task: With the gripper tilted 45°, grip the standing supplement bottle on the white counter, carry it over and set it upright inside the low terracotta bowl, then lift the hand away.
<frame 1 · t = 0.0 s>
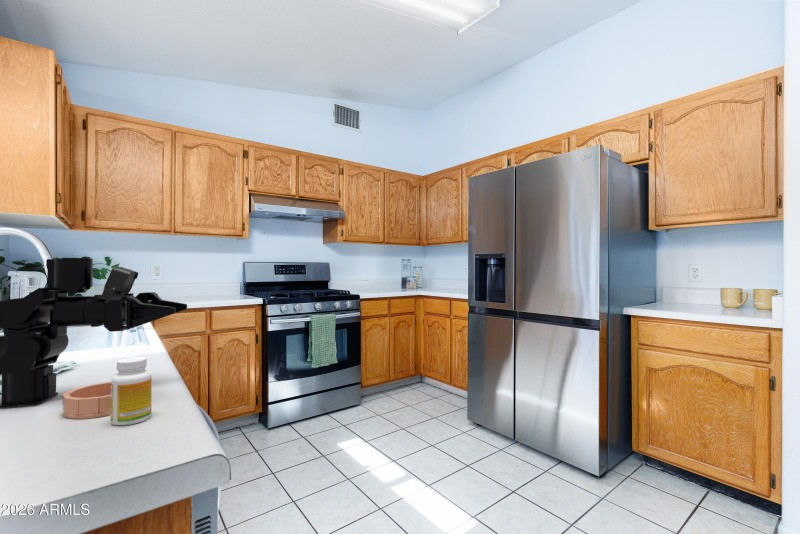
hand: (181, 308, 79), 17 cm above the table, tool horizontal, fingers open, 9 cm apart
supplement bottle: (131, 421, 62), on the table
terracotta bowl: (103, 407, 68), on the table
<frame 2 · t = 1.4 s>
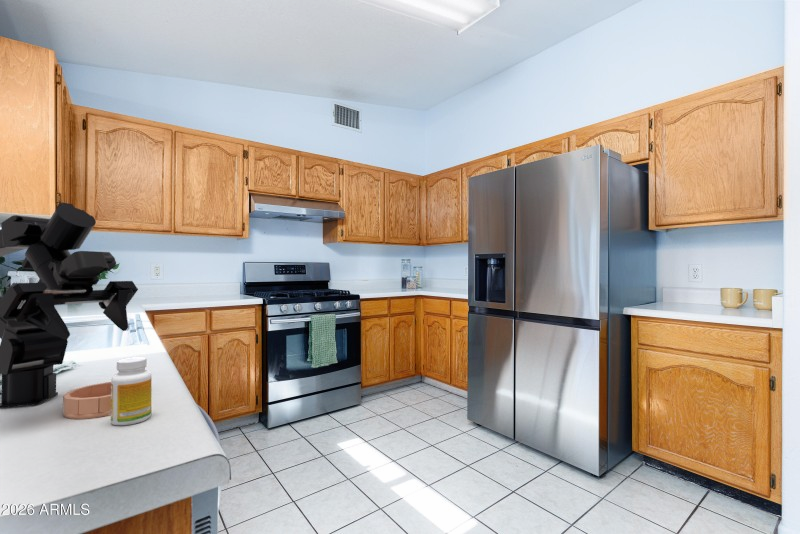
hand: (98, 332, 65), 14 cm above the table, tool tilted 45°, fingers open, 9 cm apart
nothing on the table moved.
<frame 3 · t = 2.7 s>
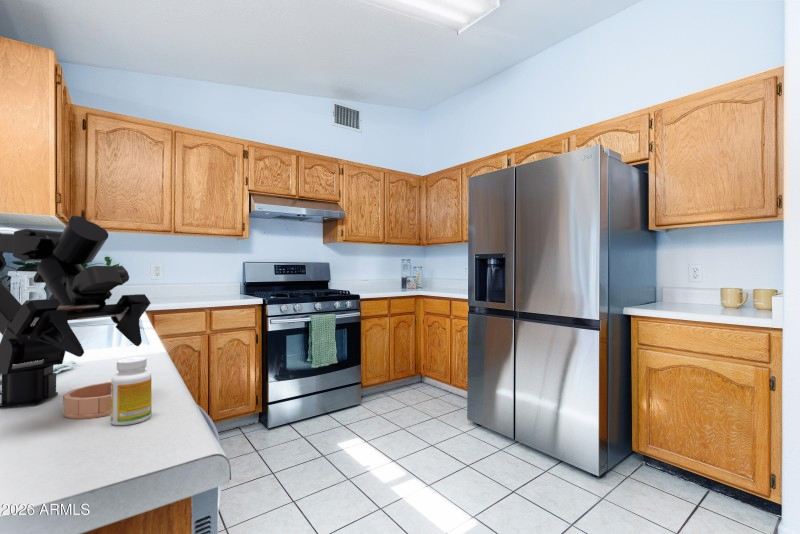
hand: (112, 349, 64), 11 cm above the table, tool tilted 45°, fingers open, 9 cm apart
nothing on the table moved.
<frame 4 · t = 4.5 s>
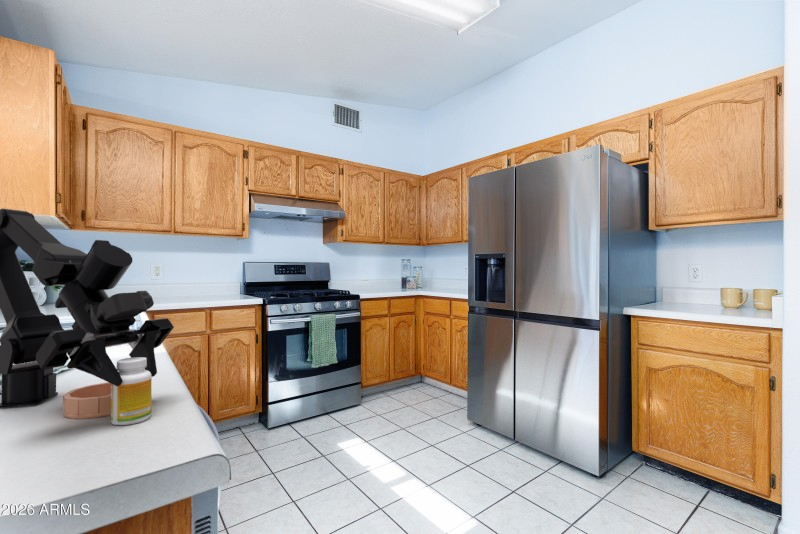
hand: (138, 379, 62), 7 cm above the table, tool tilted 45°, fingers closed on supplement bottle, 5 cm apart
supplement bottle: (131, 420, 62), on the table, touching gripper
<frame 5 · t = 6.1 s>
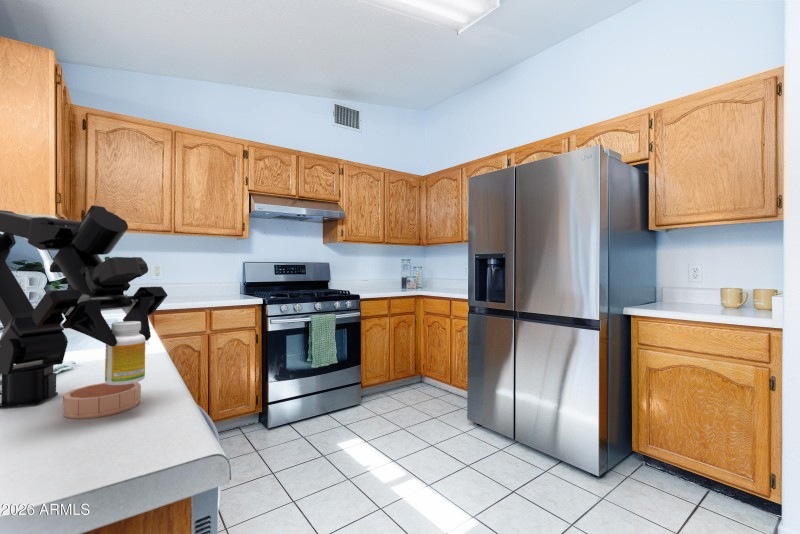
hand: (132, 341, 63), 12 cm above the table, tool tilted 45°, fingers closed on supplement bottle, 5 cm apart
supplement bottle: (125, 382, 64), point 6 cm above the table, touching gripper
when the fingers open (9 cm above the table, at t = 7.9 s): supplement bottle drops 1 cm, resting on terracotta bowl.
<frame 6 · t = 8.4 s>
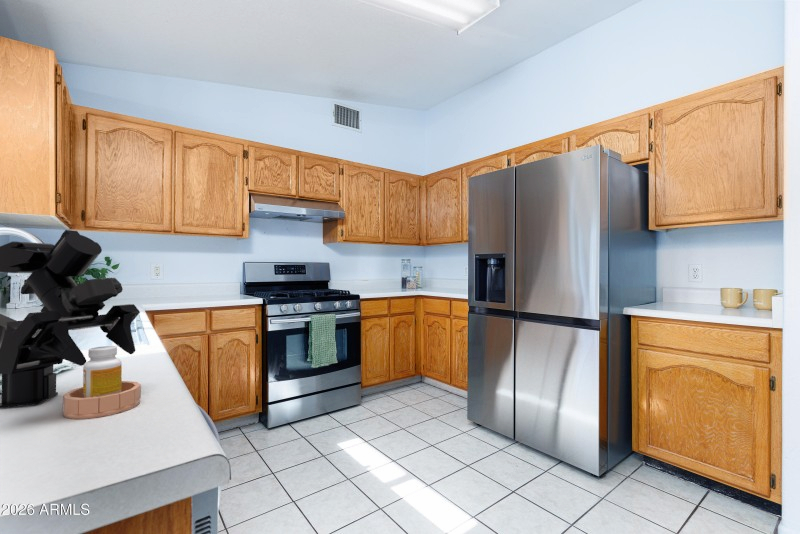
hand: (110, 357, 68), 9 cm above the table, tool tilted 45°, fingers open, 9 cm apart
supplement bottle: (102, 404, 68), point 1 cm above the table, touching terracotta bowl
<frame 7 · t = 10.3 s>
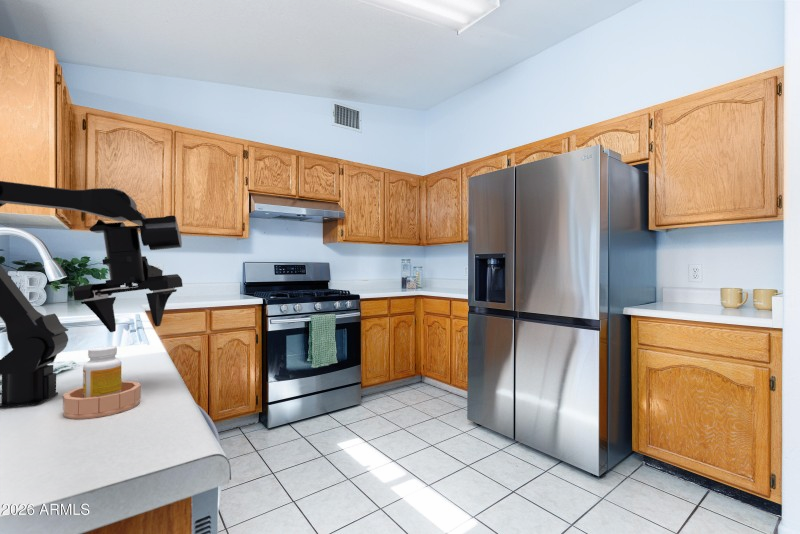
hand: (135, 329, 78), 12 cm above the table, tool pointing down, fingers open, 9 cm apart
nothing on the table moved.
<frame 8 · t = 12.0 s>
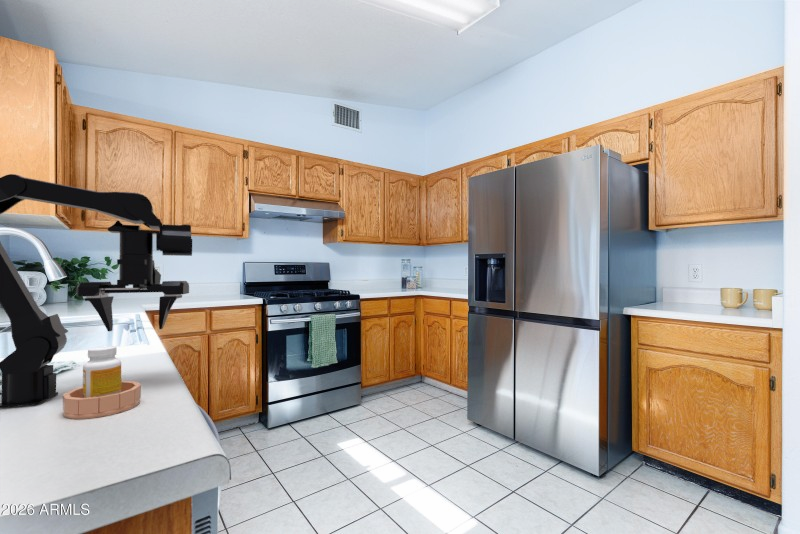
hand: (136, 330, 80), 12 cm above the table, tool pointing down, fingers open, 9 cm apart
nothing on the table moved.
at the end: supplement bottle 0.1 cm off-centre on the terracotta bowl, point 0.6 cm above the terracotta bowl's base; supplement bottle tilted 1°; the gripper is holding nothing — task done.
